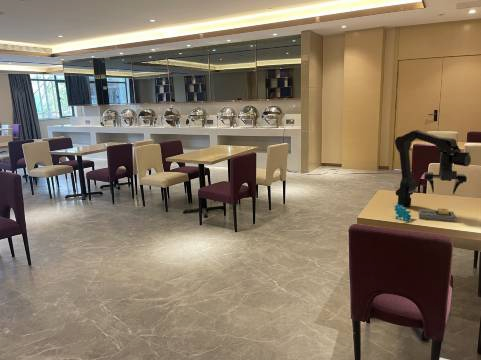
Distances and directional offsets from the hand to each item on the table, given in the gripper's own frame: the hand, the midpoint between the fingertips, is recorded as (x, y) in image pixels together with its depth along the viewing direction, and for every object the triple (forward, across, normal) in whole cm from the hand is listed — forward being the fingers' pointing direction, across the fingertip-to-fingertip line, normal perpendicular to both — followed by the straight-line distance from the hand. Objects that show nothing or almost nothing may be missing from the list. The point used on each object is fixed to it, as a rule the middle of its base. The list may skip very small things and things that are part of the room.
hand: (443, 193), depth 190 cm
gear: (+12, -18, -14) cm, 26 cm away
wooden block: (+12, 0, -5) cm, 13 cm away
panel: (+12, -2, -6) cm, 13 cm away
